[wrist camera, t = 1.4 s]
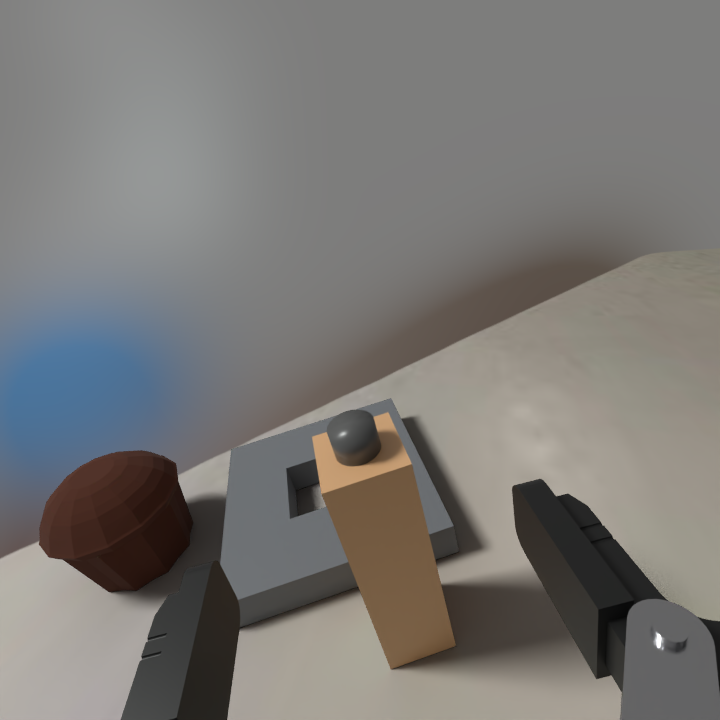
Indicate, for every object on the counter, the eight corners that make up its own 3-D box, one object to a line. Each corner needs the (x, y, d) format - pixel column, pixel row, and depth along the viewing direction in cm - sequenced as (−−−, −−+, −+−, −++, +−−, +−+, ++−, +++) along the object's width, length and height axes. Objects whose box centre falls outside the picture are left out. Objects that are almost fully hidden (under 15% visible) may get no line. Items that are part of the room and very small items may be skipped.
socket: (396, 419, 50) (391, 398, 48) (458, 551, 34) (453, 525, 32) (241, 469, 48) (231, 449, 47) (231, 630, 33) (215, 607, 31)
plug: (432, 584, 32) (382, 388, 24) (455, 645, 28) (405, 438, 20) (375, 604, 32) (303, 413, 23) (390, 669, 28) (311, 468, 19)
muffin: (212, 487, 47) (171, 414, 42) (201, 578, 37) (146, 496, 33) (102, 524, 46) (47, 454, 41) (62, 627, 37) (-16, 550, 32)
